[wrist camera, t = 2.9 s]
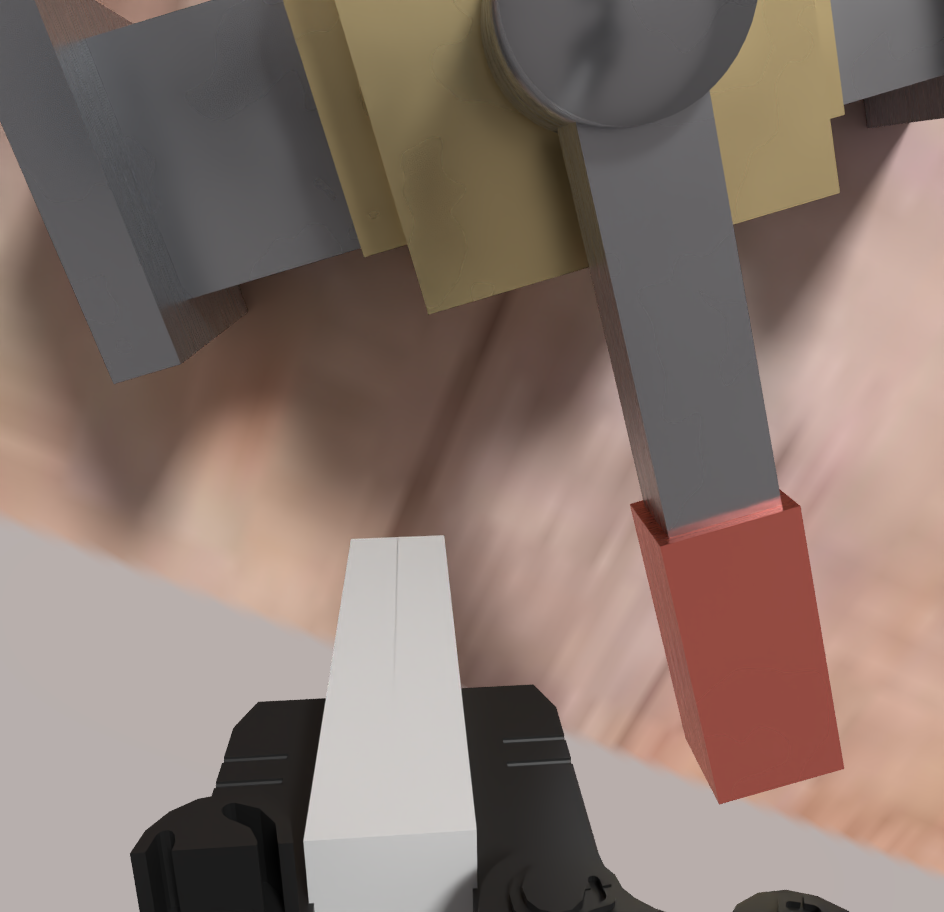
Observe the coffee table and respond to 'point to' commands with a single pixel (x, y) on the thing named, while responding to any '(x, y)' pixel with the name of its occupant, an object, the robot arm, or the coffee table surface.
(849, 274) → the coffee table surface
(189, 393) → the coffee table surface
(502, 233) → the valve body
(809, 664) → the lever
